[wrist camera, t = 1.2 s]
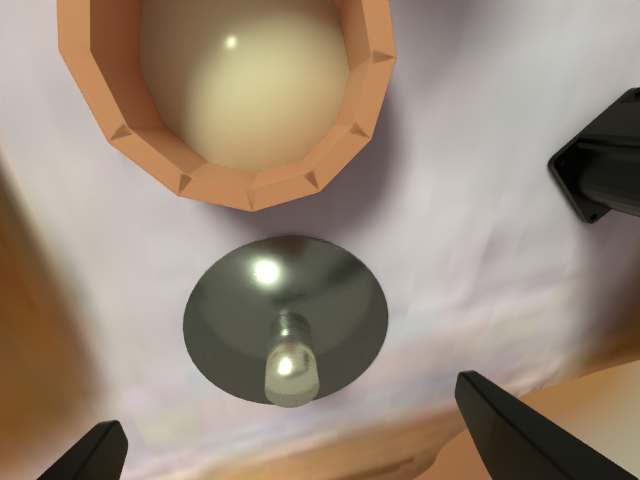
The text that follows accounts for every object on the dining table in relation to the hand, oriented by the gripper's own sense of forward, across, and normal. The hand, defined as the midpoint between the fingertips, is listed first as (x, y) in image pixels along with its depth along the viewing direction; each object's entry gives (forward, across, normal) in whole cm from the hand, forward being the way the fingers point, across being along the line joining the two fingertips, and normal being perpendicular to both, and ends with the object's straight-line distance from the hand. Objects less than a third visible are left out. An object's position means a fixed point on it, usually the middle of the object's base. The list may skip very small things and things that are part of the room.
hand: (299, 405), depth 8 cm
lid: (+13, 0, +8) cm, 15 cm away
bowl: (+13, +1, -9) cm, 16 cm away
